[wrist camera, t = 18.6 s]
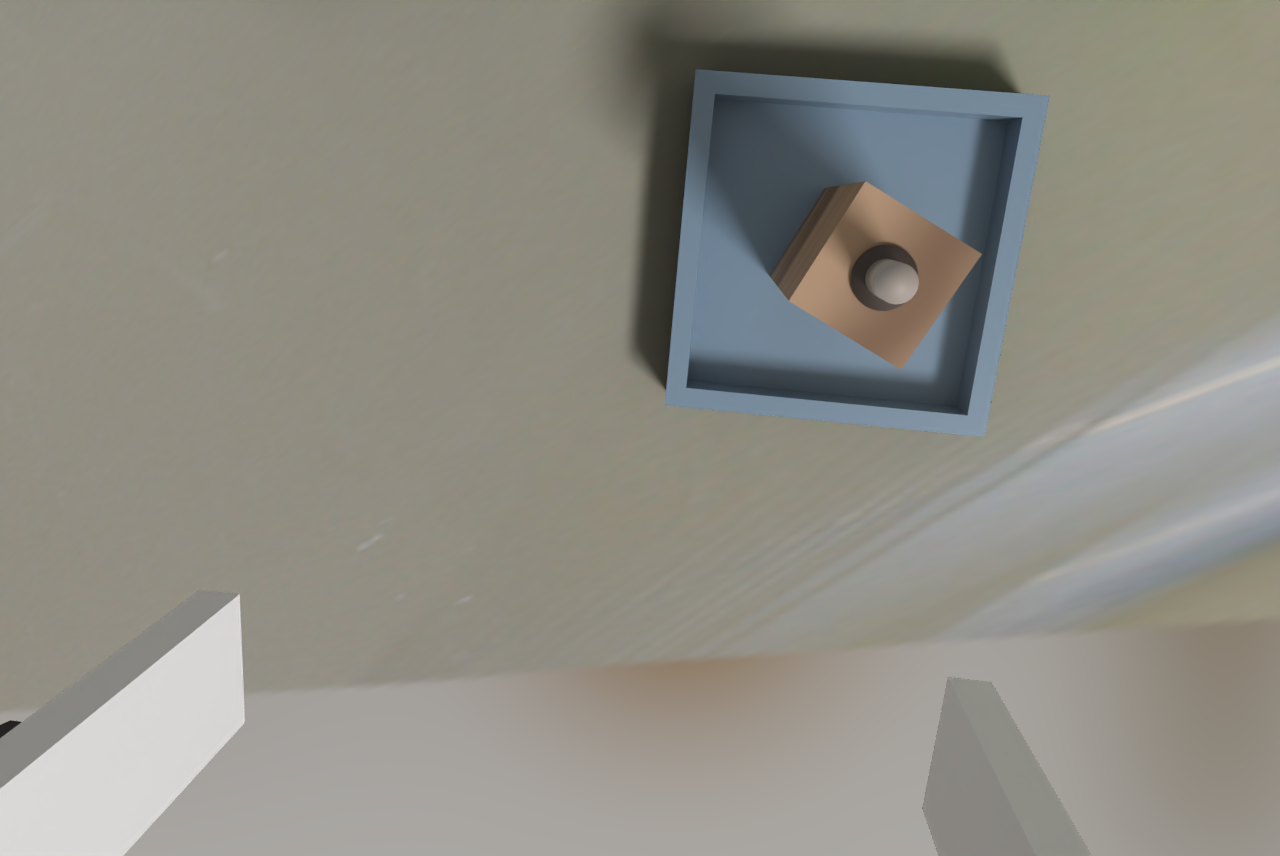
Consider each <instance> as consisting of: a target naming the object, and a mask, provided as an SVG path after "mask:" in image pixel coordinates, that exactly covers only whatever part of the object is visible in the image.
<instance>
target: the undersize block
mask: <svg viewBox="0 0 1280 856" xmlns="http://www.w3.org/2000/svg"><path fill="white" fill-rule="evenodd" d="M981 255H982V254H981V253H980V252H978V251H976V250H975V249H973V248H972V247H970V246H968V245H967V244H965V243H964V242H962V241H960V240H959V239H957V238H956V237H954V236H952V235H951V234H949V233H948V232H946V231H944V230H943V229H941V228H940V227H938V226H936V225H935V224H933V223H932V222H930V221H928V220H927V219H925V218H924V217H922V216H920V215H919V214H917V213H916V212H914V211H912V210H911V209H909V208H908V207H906V206H905V205H903V204H901V203H900V202H898V201H897V200H895V199H893V198H892V197H890V196H889V195H887V194H885V193H884V192H882V191H881V190H879V189H877V188H876V187H874V186H873V185H871V184H869V183H868V182H866V181H864V182H858V183H852V184H846V185H840V186H835V187H829V188H825V189H824V190H823V192H822V193H821V195H820V197H819V198H818V200H817V201H816V203H815V205H814V206H813V208H812V209H811V211H810V212H809V214H808V216H807V217H806V219H805V220H804V222H803V224H802V225H801V227H800V228H799V230H798V232H797V233H796V235H795V236H794V238H793V239H792V241H791V243H790V244H789V246H788V247H787V249H786V251H785V252H784V254H783V255H782V257H781V259H780V260H779V262H778V263H777V265H776V266H775V268H774V270H773V271H772V273H771V274H770V277H771V279H772V280H773V281H774V283H775V284H776V285H777V287H778V288H779V289H780V290H781V292H782V293H783V294H784V296H785V297H786V298H787V299H788V301H790V302H791V303H793V304H794V305H796V306H798V307H799V308H801V309H803V310H804V311H806V312H807V313H809V314H811V315H812V316H814V317H816V318H817V319H819V320H820V321H822V322H824V323H825V324H827V325H829V326H830V327H832V328H834V329H835V330H837V331H838V332H840V333H842V334H843V335H845V336H847V337H848V338H850V339H851V340H853V341H855V342H856V343H858V344H860V345H861V346H863V347H864V348H866V349H868V350H869V351H871V352H873V353H874V354H876V355H878V356H879V357H881V358H882V359H884V360H886V361H887V362H889V363H891V364H892V365H894V366H895V367H897V368H899V369H900V370H901V369H902V368H903V366H904V365H905V364H906V362H907V361H908V359H909V358H910V356H911V355H912V354H913V352H914V351H915V349H916V348H917V346H918V345H919V344H920V342H921V341H922V339H923V338H924V336H925V335H926V334H927V332H928V331H929V329H930V328H931V326H932V325H933V323H934V322H935V321H936V319H937V318H938V316H939V315H940V313H941V312H942V311H943V309H944V308H945V306H946V305H947V303H948V302H949V301H950V299H951V298H952V296H953V295H954V293H955V292H956V291H957V289H958V288H959V286H960V285H961V283H962V282H963V280H964V279H965V278H966V276H967V275H968V273H969V272H970V270H971V269H972V268H973V266H974V265H975V263H976V262H977V260H978V259H979V258H980V256H981Z"/></svg>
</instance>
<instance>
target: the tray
mask: <svg viewBox="0 0 1280 856" xmlns="http://www.w3.org/2000/svg"><path fill="white" fill-rule="evenodd" d="M1049 97H1050V96H1047V95H1034V94H1020V93H1007V92H994V91H980V90H967V89H954V88H940V87H927V86H914V85H900V84H887V83H873V82H860V81H847V80H833V79H820V78H807V77H793V76H780V75H767V74H753V73H740V72H727V71H713V70H700V69H696V71H695V81H694V92H693V103H692V114H691V125H690V136H689V147H688V158H687V169H686V180H685V190H684V201H683V212H682V223H681V234H680V245H679V256H678V267H677V278H676V288H675V299H674V310H673V321H672V332H671V343H670V354H669V365H668V376H667V387H666V397H665V405H669V406H679V407H689V408H699V409H709V410H719V411H729V412H739V413H749V414H759V415H769V416H779V417H789V418H799V419H809V420H820V421H830V422H840V423H850V424H860V425H870V426H880V427H890V428H900V429H910V430H920V431H930V432H940V433H950V434H960V435H970V436H980V437H984V436H985V431H986V426H987V420H988V415H989V410H990V405H991V400H992V394H993V389H994V384H995V379H996V373H997V368H998V363H999V358H1000V353H1001V347H1002V342H1003V337H1004V332H1005V326H1006V321H1007V316H1008V311H1009V306H1010V300H1011V295H1012V290H1013V285H1014V279H1015V274H1016V269H1017V264H1018V259H1019V253H1020V248H1021V243H1022V238H1023V232H1024V227H1025V222H1026V217H1027V212H1028V206H1029V201H1030V196H1031V191H1032V185H1033V180H1034V175H1035V170H1036V165H1037V159H1038V154H1039V149H1040V144H1041V138H1042V133H1043V128H1044V123H1045V118H1046V112H1047V107H1048V102H1049ZM864 181H866V182H868V183H869V184H871V185H873V186H874V187H876V188H877V189H879V190H881V191H882V192H884V193H885V194H887V195H889V196H890V197H892V198H893V199H895V200H897V201H898V202H900V203H901V204H903V205H905V206H906V207H908V208H909V209H911V210H912V211H914V212H916V213H917V214H919V215H920V216H922V217H924V218H925V219H927V220H928V221H930V222H932V223H933V224H935V225H936V226H938V227H940V228H941V229H943V230H944V231H946V232H948V233H949V234H951V235H952V236H954V237H956V238H957V239H959V240H960V241H962V242H964V243H965V244H967V245H968V246H970V247H972V248H973V249H975V250H976V251H978V252H980V253H981V254H982V255H981V256H980V258H979V259H978V260H977V262H976V263H975V265H974V266H973V268H972V269H971V270H970V272H969V273H968V275H967V276H966V278H965V279H964V280H963V282H962V283H961V285H960V286H959V288H958V289H957V291H956V292H955V293H954V295H953V296H952V298H951V299H950V301H949V302H948V303H947V305H946V306H945V308H944V309H943V311H942V312H941V313H940V315H939V316H938V318H937V319H936V321H935V322H934V323H933V325H932V326H931V328H930V329H929V331H928V332H927V334H926V335H925V336H924V338H923V339H922V341H921V342H920V344H919V345H918V346H917V348H916V349H915V351H914V352H913V354H912V355H911V356H910V358H909V359H908V361H907V362H906V364H905V365H904V366H903V368H902V369H901V370H900V369H899V368H897V367H895V366H894V365H892V364H891V363H889V362H887V361H886V360H884V359H882V358H881V357H879V356H878V355H876V354H874V353H873V352H871V351H869V350H868V349H866V348H864V347H863V346H861V345H860V344H858V343H856V342H855V341H853V340H851V339H850V338H848V337H847V336H845V335H843V334H842V333H840V332H838V331H837V330H835V329H834V328H832V327H830V326H829V325H827V324H825V323H824V322H822V321H820V320H819V319H817V318H816V317H814V316H812V315H811V314H809V313H807V312H806V311H804V310H803V309H801V308H799V307H798V306H796V305H794V304H793V303H791V302H790V301H788V299H787V298H786V297H785V296H784V294H783V293H782V292H781V290H780V289H779V288H778V287H777V285H776V284H775V283H774V281H773V280H772V279H771V277H770V274H771V273H772V271H773V270H774V268H775V266H776V265H777V263H778V262H779V260H780V259H781V257H782V255H783V254H784V252H785V251H786V249H787V247H788V246H789V244H790V243H791V241H792V239H793V238H794V236H795V235H796V233H797V232H798V230H799V228H800V227H801V225H802V224H803V222H804V220H805V219H806V217H807V216H808V214H809V212H810V211H811V209H812V208H813V206H814V205H815V203H816V201H817V200H818V198H819V197H820V195H821V193H822V192H823V190H824V189H825V188H829V187H835V186H840V185H846V184H852V183H858V182H864Z"/></svg>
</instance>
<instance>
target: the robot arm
mask: <svg viewBox="0 0 1280 856" xmlns="http://www.w3.org/2000/svg"><path fill="white" fill-rule="evenodd" d="M244 723H245V717H244V690H243V666H242V641H241V617H240V594H233V593H225V592H216V591H208V590H199V591H198V592H197V593H195V594H194V595H193V596H191V597H190V598H189V599H187V600H186V601H184V602H183V603H182V604H180V605H179V606H178V607H176V608H175V609H174V610H172V611H171V612H170V613H168V614H167V615H166V616H164V617H163V618H162V619H160V620H159V621H158V622H156V623H155V624H153V625H152V626H151V627H149V628H148V629H147V630H145V631H144V632H143V633H141V634H140V635H139V636H137V637H136V638H135V639H133V640H132V641H131V642H129V643H128V644H127V645H125V646H124V647H123V648H121V649H120V650H118V651H117V652H116V653H114V654H113V655H112V656H110V657H109V658H108V659H106V660H105V661H104V662H102V663H101V664H100V665H98V666H97V667H96V668H94V669H93V670H92V671H90V672H89V673H87V674H86V675H85V676H83V677H82V678H81V679H79V680H78V681H77V682H75V683H74V684H73V685H71V686H70V687H69V688H67V689H66V690H65V691H63V692H62V693H61V694H59V695H58V696H56V697H55V698H54V699H52V700H51V701H50V702H48V703H47V704H46V705H44V706H43V707H42V708H40V709H39V710H38V711H36V712H35V713H34V714H32V715H31V716H30V717H28V718H27V719H25V720H24V721H23V722H18V721H8V722H6V723H4V724H2V725H0V856H123V855H124V854H125V853H126V852H127V851H128V850H129V849H130V848H131V846H132V845H133V844H134V843H135V842H136V841H137V840H138V839H139V838H140V837H141V836H142V834H143V833H144V832H145V831H146V830H147V829H148V828H149V827H150V826H151V824H153V823H154V821H155V820H156V819H157V818H158V817H159V816H160V815H161V814H162V813H163V811H164V810H165V809H166V808H167V807H168V806H169V805H170V804H171V803H172V802H173V800H174V799H175V798H176V797H177V796H178V795H179V794H180V793H181V792H182V791H183V790H184V789H185V787H186V786H187V785H188V784H189V783H190V782H191V781H192V780H193V779H194V778H195V777H196V775H197V774H198V773H199V772H200V771H201V770H202V769H203V768H204V767H205V766H206V764H207V763H208V762H209V761H210V760H211V759H212V758H213V757H214V756H215V755H216V754H217V752H218V751H219V750H220V749H221V748H222V747H223V746H224V745H225V744H226V743H227V741H228V740H229V739H230V738H231V737H232V736H233V735H234V734H235V733H236V732H237V731H238V729H239V728H240V727H241V726H242V725H243V724H244ZM922 809H923V812H924V815H925V818H926V820H927V823H928V826H929V829H930V832H931V835H932V838H933V841H934V844H935V847H936V850H937V852H938V855H939V856H1092V854H1091V853H1090V851H1089V850H1088V848H1087V846H1086V844H1085V842H1084V841H1083V839H1082V837H1081V835H1080V834H1079V832H1078V830H1077V829H1076V827H1075V825H1074V823H1073V822H1072V820H1071V818H1070V816H1069V815H1068V813H1067V811H1066V810H1065V808H1064V806H1063V804H1062V803H1061V801H1060V799H1059V798H1058V796H1057V794H1056V792H1055V791H1054V789H1053V787H1052V785H1051V784H1050V782H1049V780H1048V779H1047V777H1046V775H1045V773H1044V772H1043V770H1042V768H1041V767H1040V765H1039V763H1038V761H1037V760H1036V758H1035V756H1034V754H1033V753H1032V751H1031V749H1030V748H1029V746H1028V744H1027V742H1026V741H1025V739H1024V737H1023V735H1022V734H1021V732H1020V730H1019V729H1018V727H1017V725H1016V723H1015V722H1014V720H1013V718H1012V717H1011V715H1010V713H1009V712H1008V710H1007V708H1006V706H1005V704H1004V703H1003V701H1002V700H1001V698H1000V696H999V694H998V692H997V691H996V689H995V687H994V685H993V684H992V682H987V681H978V680H970V679H961V678H952V677H948V679H947V684H946V689H945V694H944V700H943V705H942V711H941V715H940V720H939V725H938V730H937V735H936V741H935V746H934V751H933V756H932V761H931V766H930V772H929V776H928V782H927V787H926V792H925V797H924V803H923V807H922Z"/></svg>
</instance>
